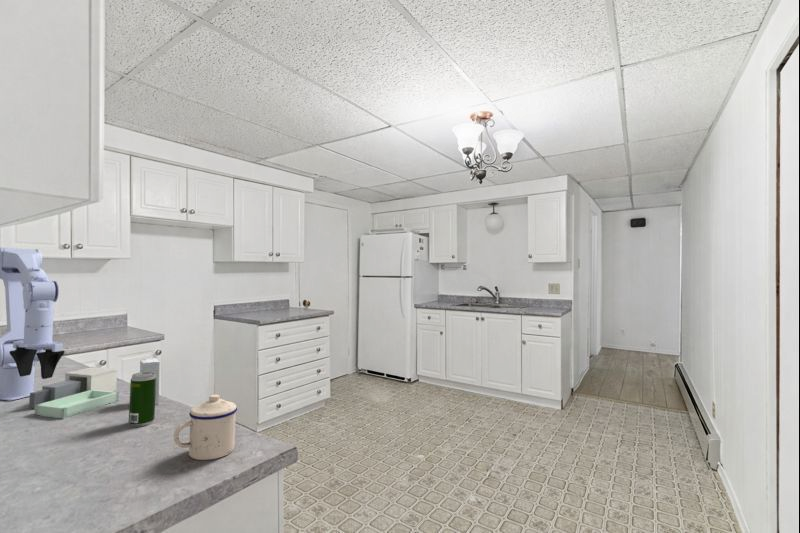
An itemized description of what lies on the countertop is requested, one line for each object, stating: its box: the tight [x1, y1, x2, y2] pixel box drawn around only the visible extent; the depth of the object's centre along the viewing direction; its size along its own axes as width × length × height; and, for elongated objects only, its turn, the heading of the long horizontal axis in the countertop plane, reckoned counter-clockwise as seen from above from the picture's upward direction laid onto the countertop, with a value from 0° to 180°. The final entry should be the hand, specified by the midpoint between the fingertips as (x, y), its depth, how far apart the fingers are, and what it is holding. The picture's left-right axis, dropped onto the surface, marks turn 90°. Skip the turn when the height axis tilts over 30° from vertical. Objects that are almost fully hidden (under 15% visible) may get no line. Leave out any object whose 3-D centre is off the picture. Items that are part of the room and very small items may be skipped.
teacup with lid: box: [173, 394, 238, 461], centre depth 82 cm, size 12×9×12 cm
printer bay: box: [64, 366, 118, 393], centre depth 120 cm, size 10×8×6 cm
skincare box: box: [139, 358, 161, 406], centre depth 112 cm, size 6×4×12 cm
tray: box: [34, 389, 119, 420], centre depth 107 cm, size 9×15×2 cm, turn 168°
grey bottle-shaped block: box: [28, 380, 81, 410], centre depth 110 cm, size 4×11×5 cm, turn 168°
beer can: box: [128, 372, 156, 428], centre depth 97 cm, size 5×5×12 cm
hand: (36, 376), depth 105 cm, fingers open, 7 cm apart
